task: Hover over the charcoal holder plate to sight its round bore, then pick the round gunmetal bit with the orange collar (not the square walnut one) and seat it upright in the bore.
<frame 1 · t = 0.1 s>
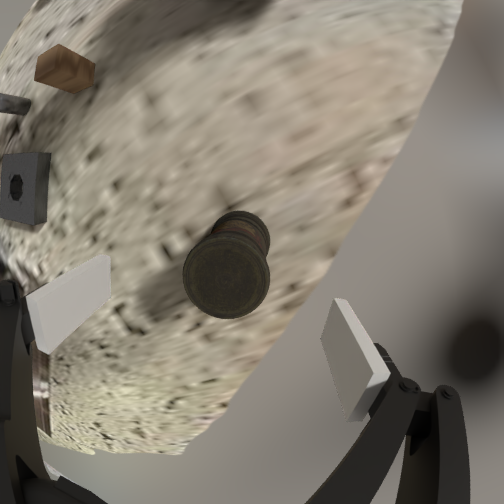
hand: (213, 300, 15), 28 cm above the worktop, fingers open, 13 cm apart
round bit: (25, 107, 36), on the worktop
square bit: (84, 78, 35), on the worktop
holder plate: (28, 185, 41), on the worktop
container: (240, 238, 43), on the worktop
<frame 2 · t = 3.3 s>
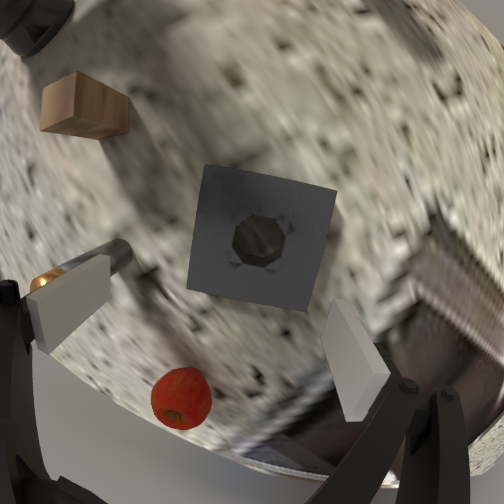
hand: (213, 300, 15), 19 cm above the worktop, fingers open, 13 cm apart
round bit: (120, 252, 34), on the worktop
square bit: (113, 118, 29), on the worktop
apple: (191, 371, 39), on the worktop
holder plate: (259, 234, 33), on the worktop
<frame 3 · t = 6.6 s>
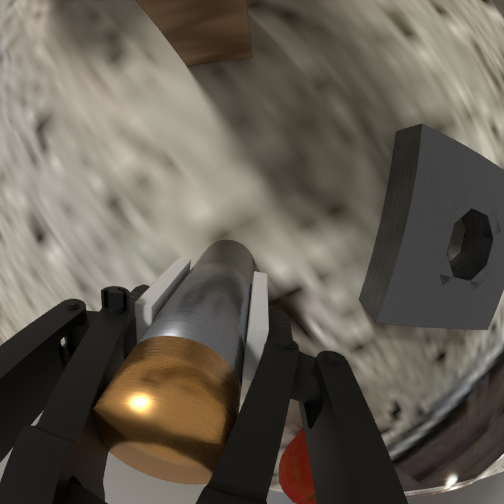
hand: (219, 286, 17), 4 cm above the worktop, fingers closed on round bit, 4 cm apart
round bit: (227, 265, 21), on the worktop, touching gripper
square bit: (217, 37, 16), on the worktop
apple: (314, 422, 25), on the worktop
holder plate: (444, 234, 19), on the worktop
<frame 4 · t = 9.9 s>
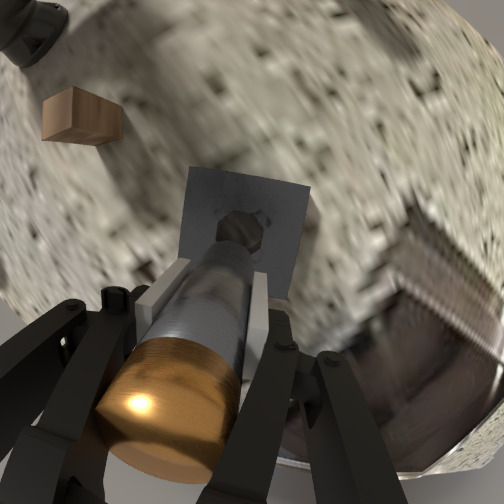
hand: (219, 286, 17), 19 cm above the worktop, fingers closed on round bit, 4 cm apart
round bit: (227, 266, 21), point 15 cm above the worktop, touching gripper
square bit: (107, 126, 32), on the worktop
holder plate: (241, 228, 35), on the worktop
when the fingers open (6 cm above the worktop, at t = 13.5 s): round bit drops 1 cm, resting in holder plate.
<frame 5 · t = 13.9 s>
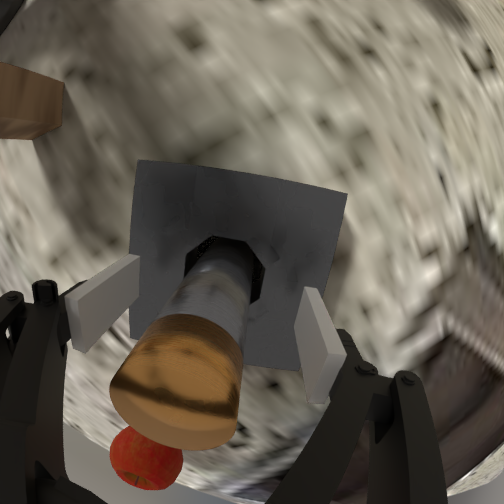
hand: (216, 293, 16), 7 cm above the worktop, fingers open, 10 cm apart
round bit: (229, 260, 22), resting in holder plate
square bit: (46, 111, 19), on the worktop
apple: (160, 419, 28), on the worktop
holder plate: (229, 259, 22), on the worktop
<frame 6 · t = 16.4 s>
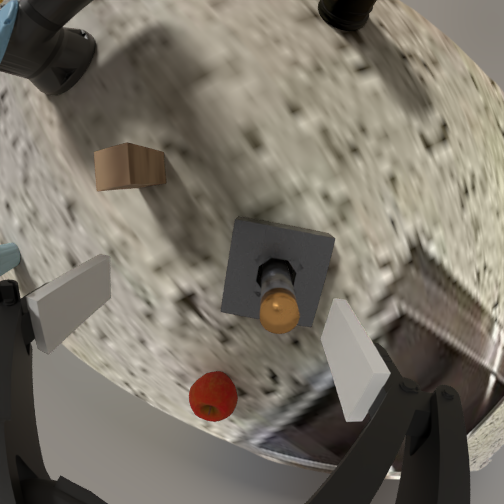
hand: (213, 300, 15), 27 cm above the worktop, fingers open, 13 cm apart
round bit: (275, 268, 42), resting in holder plate
square bit: (150, 170, 39), on the worktop
apple: (219, 374, 48), on the worktop
cup: (15, 253, 45), on the worktop
milk container: (24, 1, 26), on the worktop
holder plate: (275, 268, 42), on the worktop
container: (341, 14, 31), on the worktop
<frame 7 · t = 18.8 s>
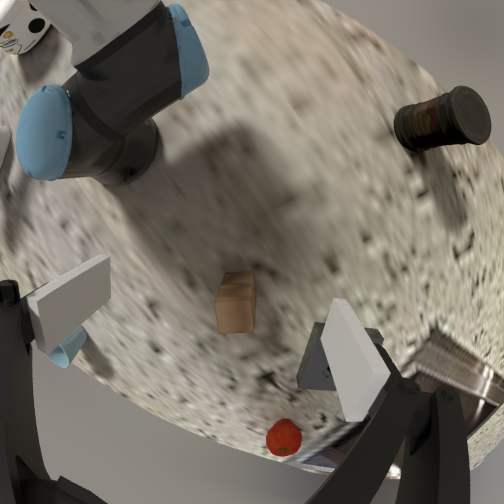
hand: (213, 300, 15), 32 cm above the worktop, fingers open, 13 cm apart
square bit: (240, 285, 48), on the worktop
apple: (283, 419, 58), on the worktop
cup: (79, 331, 54), on the worktop
milk container: (37, 30, 33), on the worktop
holder plate: (336, 354, 52), on the worktop
power drill: (3, 141, 42), on the worktop
container: (412, 128, 40), on the worktop
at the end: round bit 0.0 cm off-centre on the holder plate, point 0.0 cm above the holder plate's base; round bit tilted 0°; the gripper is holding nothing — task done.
